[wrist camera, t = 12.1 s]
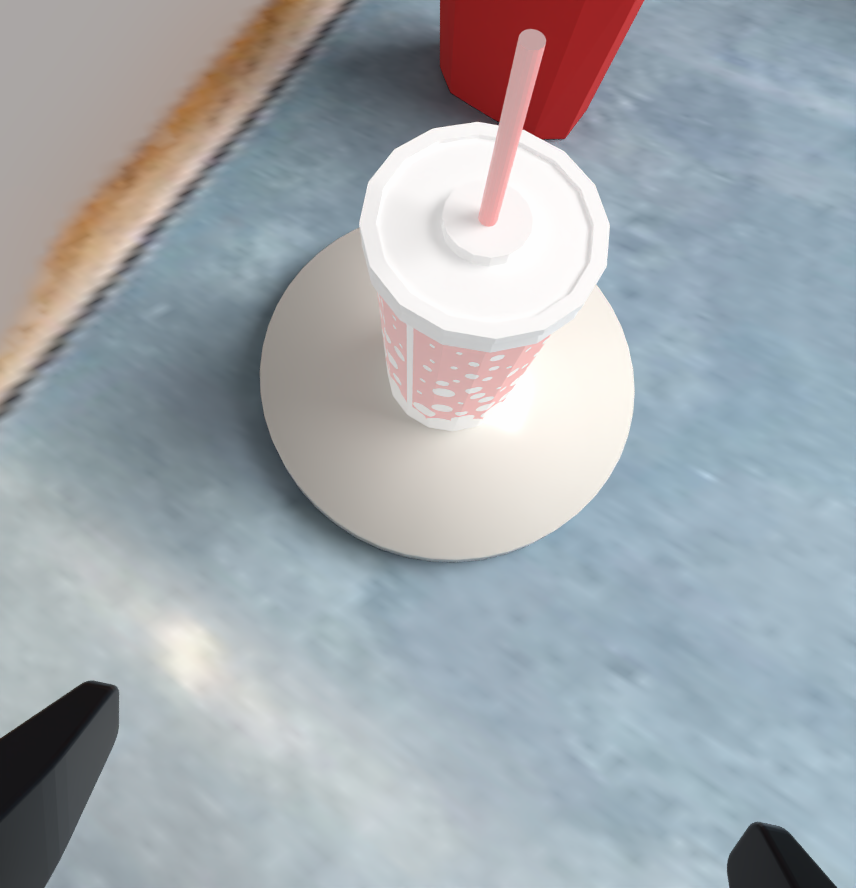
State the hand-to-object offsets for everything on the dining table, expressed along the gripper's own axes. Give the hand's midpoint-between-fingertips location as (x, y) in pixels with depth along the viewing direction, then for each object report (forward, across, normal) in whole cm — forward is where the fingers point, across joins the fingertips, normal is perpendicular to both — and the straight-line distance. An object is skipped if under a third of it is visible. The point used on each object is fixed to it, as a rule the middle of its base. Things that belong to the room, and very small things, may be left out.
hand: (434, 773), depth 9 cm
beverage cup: (+17, 0, 0) cm, 17 cm away
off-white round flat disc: (+18, 0, +1) cm, 18 cm away
